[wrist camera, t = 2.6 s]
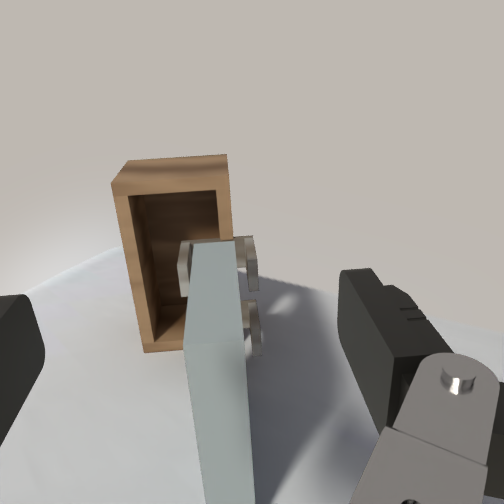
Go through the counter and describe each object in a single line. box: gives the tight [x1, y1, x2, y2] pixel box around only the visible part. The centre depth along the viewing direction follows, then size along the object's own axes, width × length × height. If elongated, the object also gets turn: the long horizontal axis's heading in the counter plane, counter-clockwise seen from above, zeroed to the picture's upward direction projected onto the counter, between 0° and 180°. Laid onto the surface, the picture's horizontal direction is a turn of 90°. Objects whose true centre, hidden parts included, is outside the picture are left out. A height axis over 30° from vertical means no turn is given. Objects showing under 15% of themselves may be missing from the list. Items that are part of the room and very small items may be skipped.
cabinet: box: [111, 154, 262, 356], centre depth 42 cm, size 12×12×18 cm
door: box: [183, 241, 255, 504], centre depth 30 cm, size 12×3×15 cm, turn 4°
